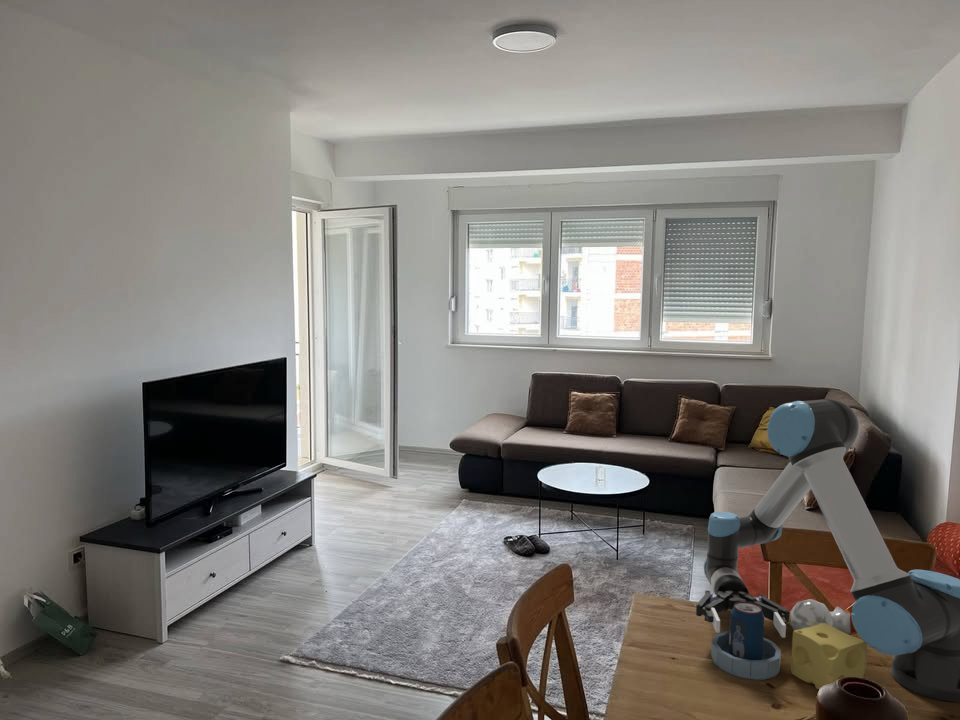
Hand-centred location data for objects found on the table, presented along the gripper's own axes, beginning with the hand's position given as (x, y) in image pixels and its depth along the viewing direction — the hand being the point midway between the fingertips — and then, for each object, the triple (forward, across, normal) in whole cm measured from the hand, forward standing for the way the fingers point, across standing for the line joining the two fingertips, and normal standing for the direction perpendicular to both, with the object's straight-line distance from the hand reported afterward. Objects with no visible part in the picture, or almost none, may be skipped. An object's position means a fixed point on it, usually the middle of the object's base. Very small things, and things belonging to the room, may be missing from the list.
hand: (750, 629), depth 153 cm
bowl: (-3, 0, -9) cm, 10 cm away
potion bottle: (-18, -21, -10) cm, 29 cm away
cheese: (+1, -15, -10) cm, 18 cm away
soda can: (-3, 0, -9) cm, 9 cm away
